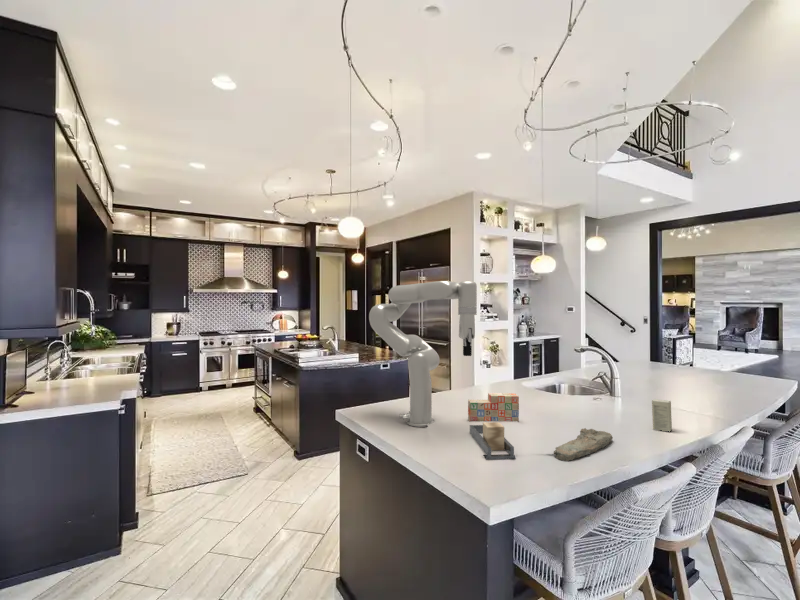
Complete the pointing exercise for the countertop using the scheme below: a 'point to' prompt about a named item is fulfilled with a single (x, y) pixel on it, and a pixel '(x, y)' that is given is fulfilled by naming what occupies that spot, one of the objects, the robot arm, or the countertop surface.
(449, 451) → the countertop surface
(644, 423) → the countertop surface
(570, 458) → the long grey stone
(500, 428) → the block
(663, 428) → the skincare box
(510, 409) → the stack of blocks
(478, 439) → the chute
